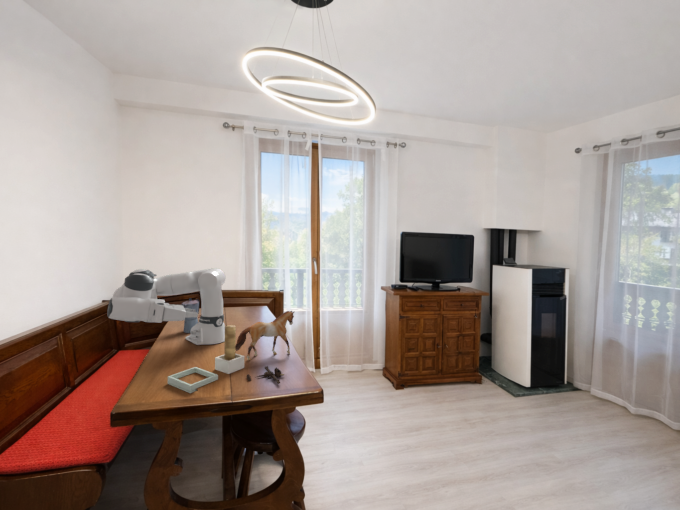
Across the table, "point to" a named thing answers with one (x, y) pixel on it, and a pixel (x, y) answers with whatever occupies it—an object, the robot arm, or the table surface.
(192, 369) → the tray
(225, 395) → the table surface
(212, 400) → the table surface
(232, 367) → the white square box
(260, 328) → the horse figurine
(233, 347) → the dowel
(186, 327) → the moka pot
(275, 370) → the bear figurine
